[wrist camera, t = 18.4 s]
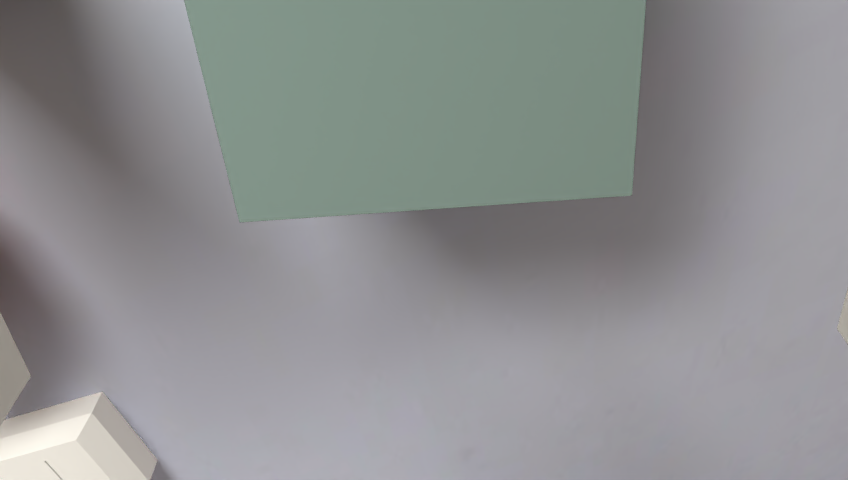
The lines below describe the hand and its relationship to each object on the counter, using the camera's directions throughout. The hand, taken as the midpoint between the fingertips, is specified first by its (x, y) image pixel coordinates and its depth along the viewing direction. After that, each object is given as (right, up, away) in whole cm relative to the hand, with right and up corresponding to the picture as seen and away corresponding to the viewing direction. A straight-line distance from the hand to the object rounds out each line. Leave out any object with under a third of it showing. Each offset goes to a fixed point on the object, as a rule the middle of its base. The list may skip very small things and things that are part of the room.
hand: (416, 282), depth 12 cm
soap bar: (-18, -9, +27) cm, 34 cm away
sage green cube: (0, +10, +13) cm, 17 cm away
